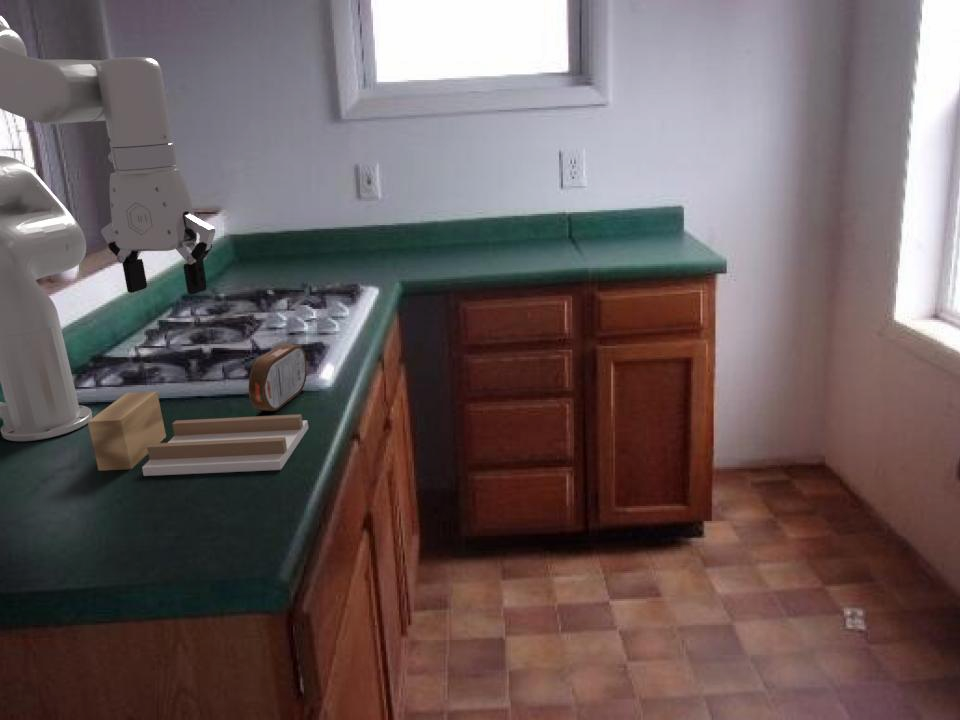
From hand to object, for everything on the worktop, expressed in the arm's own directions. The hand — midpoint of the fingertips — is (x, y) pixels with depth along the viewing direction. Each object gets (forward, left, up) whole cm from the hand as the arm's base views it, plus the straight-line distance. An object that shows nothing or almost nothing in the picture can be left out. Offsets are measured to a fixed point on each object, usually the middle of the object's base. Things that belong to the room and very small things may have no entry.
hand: (167, 291), depth 115 cm
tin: (+9, +14, -22) cm, 28 cm away
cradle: (+7, -5, -22) cm, 23 cm away
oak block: (-7, -4, -22) cm, 23 cm away
